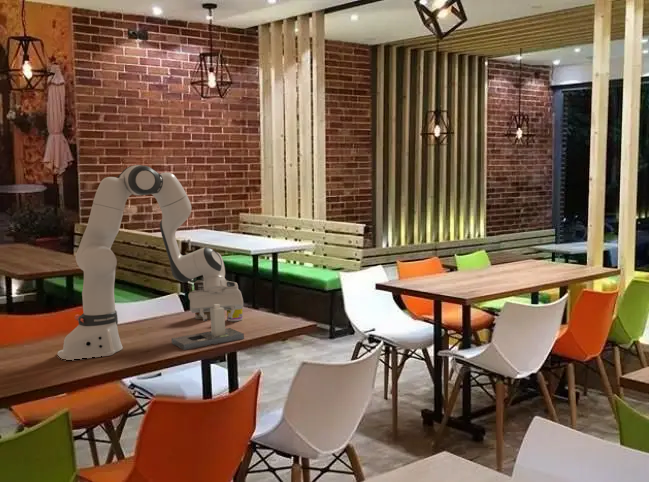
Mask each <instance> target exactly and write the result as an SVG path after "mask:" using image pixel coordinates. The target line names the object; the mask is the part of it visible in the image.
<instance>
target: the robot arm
mask: <svg viewBox="0 0 649 482" xmlns="http://www.w3.org/2000/svg"><path fill="white" fill-rule="evenodd" d="M132 195H134V196H146V195H147V196H149V195H151V196H153V197H154V198H155V200H156V202H157V204H158V206H159V209H160V211H161V220H160V222H159V229H160V230H159V231H160V233H161V234H160V235H161V237H162V238H161V239H162V240H163V244H164V246H165V251H166V254H167V258H168V261H169V265H170V271H171V273H172V277H173V278H174V280H176V281H178V282H182V283H188V282H189V281H191V280H194V279H195V278H198V277H201V276H202V277H203V280H204V282H203V285H204V290H198V291H196V290H194V289H193V290H192V291H190V292H189V293H188V300H189V311H190V312H191V313H197V312H200V315H201V316H202V317H203V319H202V320H203V322H207V321H208V319H207V315H204V312H210V308H214V304H220V307H222V308H224V311H227V310H231V313H228V319H232V315H233V313H234V310H237V309H242V310H243V307H244V298H243V295H242V291H241V290H240V289H239V285H238V283H237V282H235V281H229V280H227V279H226V278H225V277H226V267H225V263H224V259H223V256H222V255H221V254H220V253H219V251H218V252H217V251H216V250H214V249H212V248H210V247H207V246H205V247H203V248H199V249H197V250H195V251H192V252H190V253H186V254H184V255H183V254H181V251H180V248H179V245H178V242H177V238H176V232H177V230H178V229H179V228H180V227H181V226H182V225H183V224H184V223H185V222H186V221H187V220H188V219H189V218H190V215H191V213H192V204H191V201H190V199H189V196H188V194H187V193H186V190H185V189H184V187H183V185H182V183H181V182H180V181H179V179H178V178H177V176H176V175H175V174H173V173H172V172H161V173H159V172H157V171H156V170H154V169H153V168H151V167H150V166H148V165H142V164H134V165H130V166H128V167H126V168H124V169H123V170H122V171H121V173H120V174H119V175H118V176H117V177H116V176H108V177H104V178H102V180H101V181H100V183H99V185H98V187H97V188H96V192H95V194H94V197H93V198H94V199H93V201H92V206H91V209H90V214H89V218H88V222H87V224H86V228H85V230H84V233H83V235H82V238H81V240H80V243H79V245H78V248H77V250H76V253H75V262H76V264H77V267H79V269H80V270H81V271H83V284H82V285H83V286H82V291H81V296H82V311H83V313H82V314H81V315H80V314H75V316H74V320H75V321H77V322H78V325H77V326H76V327H75V328H74V329H73V330H72V331H70V332H69V333H68V334H66V336H65V337H64V340H63V347H62V349H60V350H58V351H57V355H58V356H59V357H60V358H62V359H66V360H72V361H75V360H74V359H80V360H83V359H82V358H87V359H93V358H92V357H95V358H101V356H102V357H108V356H112V355H114V354H115V353H117V352H120V351H121V350H123V349H124V347H123V345H122V342H121V338H120V334H119V330H118V329H119V328H118V326H119V325H118V322H119V320H118V311H117V310H116V304H115V303H116V301H115V281H116V269H117V264H118V260H117V256H116V254H115V253H114V252H113V250H112V249H111V248H112V246H113V243H114V242H115V239H116V237H117V235H118V233H119V231H120V228H121V223H122V220H123V216H124V211H125V207H126V203H127V200H128V199H129V198H130V196H132ZM57 355H56V356H57ZM58 356H57V357H58ZM59 357H58V358H59ZM60 358H59V359H60ZM62 359H61V360H62ZM66 360H65V361H66Z"/></svg>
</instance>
